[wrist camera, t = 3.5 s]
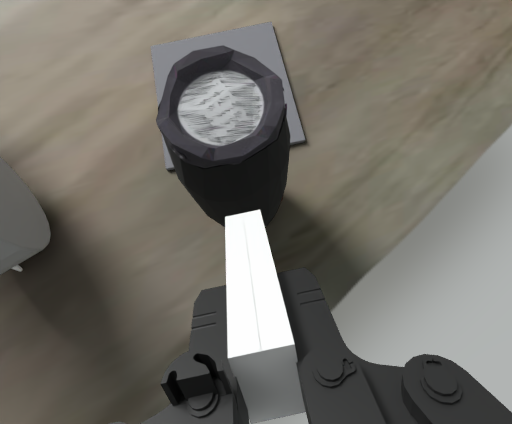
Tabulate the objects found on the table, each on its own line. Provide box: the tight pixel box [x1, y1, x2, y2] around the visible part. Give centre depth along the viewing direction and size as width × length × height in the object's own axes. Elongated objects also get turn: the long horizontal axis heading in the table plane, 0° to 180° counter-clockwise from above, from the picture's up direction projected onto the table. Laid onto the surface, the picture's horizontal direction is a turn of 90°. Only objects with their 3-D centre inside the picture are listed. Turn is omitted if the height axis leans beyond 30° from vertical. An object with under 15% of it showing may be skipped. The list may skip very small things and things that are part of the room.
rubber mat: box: [151, 22, 305, 171], centre depth 40 cm, size 20×18×1 cm
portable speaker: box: [156, 45, 290, 227], centre depth 26 cm, size 9×9×20 cm
